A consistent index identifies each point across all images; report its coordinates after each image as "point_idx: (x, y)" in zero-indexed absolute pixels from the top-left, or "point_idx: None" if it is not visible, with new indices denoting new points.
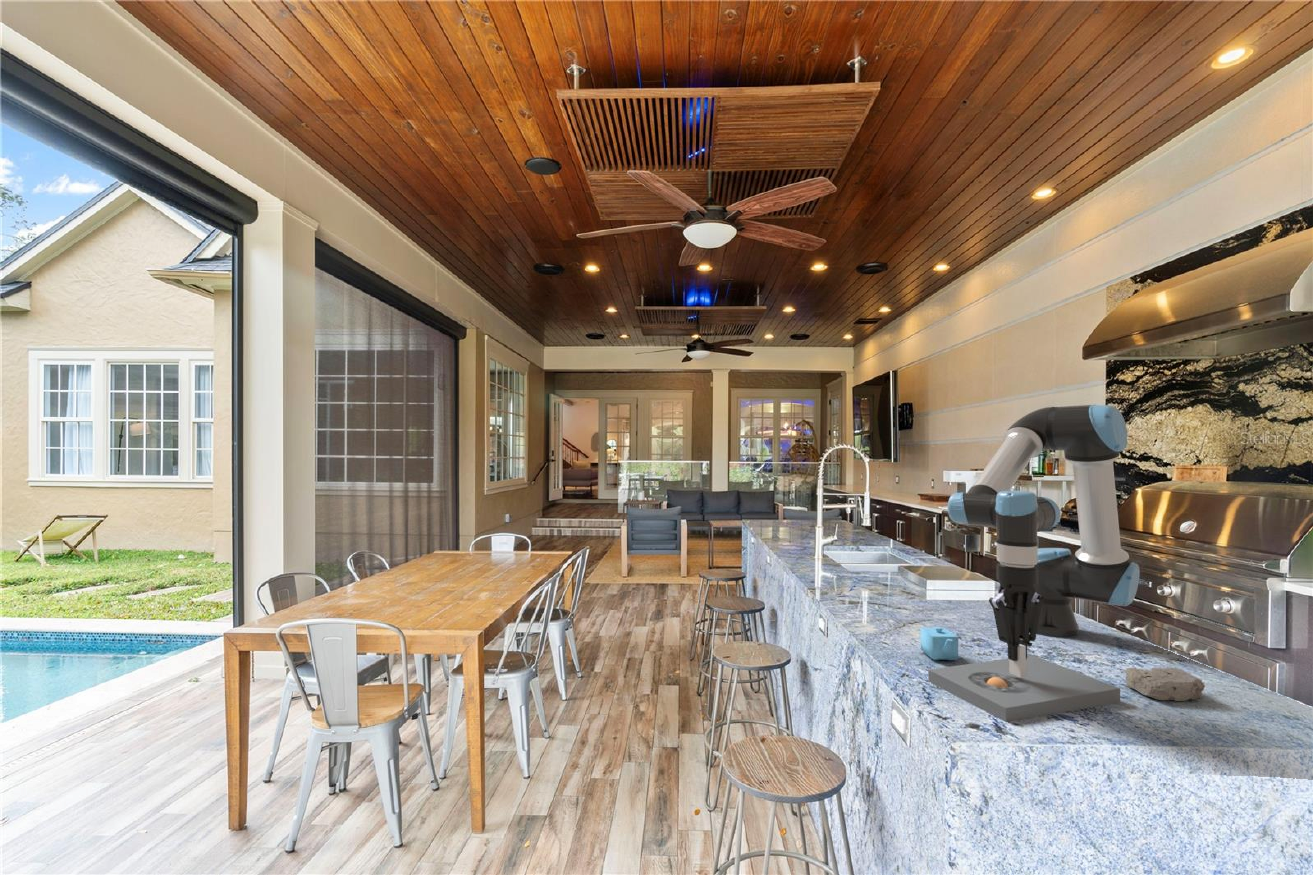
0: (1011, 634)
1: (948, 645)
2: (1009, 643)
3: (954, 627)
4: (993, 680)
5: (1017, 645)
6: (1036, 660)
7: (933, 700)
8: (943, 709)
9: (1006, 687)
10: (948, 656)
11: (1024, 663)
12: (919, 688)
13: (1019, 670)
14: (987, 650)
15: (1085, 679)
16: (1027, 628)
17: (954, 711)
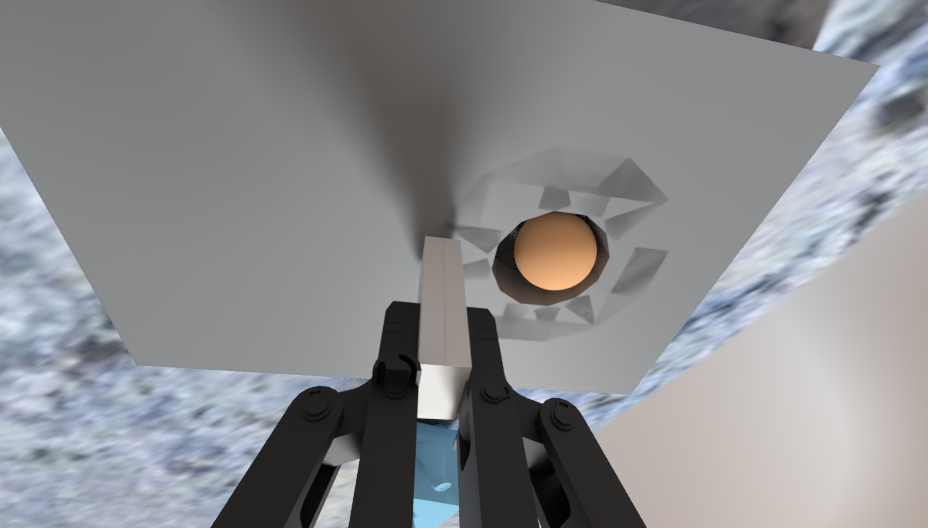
0: (570, 477)
1: (438, 466)
2: (571, 406)
3: (191, 512)
4: (587, 270)
5: (493, 380)
6: (164, 331)
7: (736, 291)
8: (795, 242)
9: (560, 224)
10: (419, 431)
11: (432, 280)
12: (669, 348)
13: (460, 265)
14: (220, 430)
15: (56, 94)
16: (371, 519)
17: (791, 218)
